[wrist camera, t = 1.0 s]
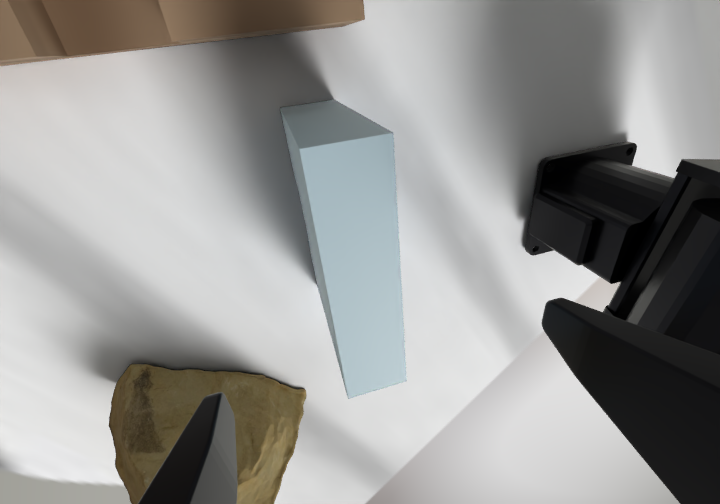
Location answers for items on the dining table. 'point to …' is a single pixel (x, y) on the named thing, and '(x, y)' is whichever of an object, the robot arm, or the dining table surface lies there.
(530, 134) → the dining table surface
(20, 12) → the walnut rail
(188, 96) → the dining table surface
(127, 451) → the rock
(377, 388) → the blue-grey rectangular slab
